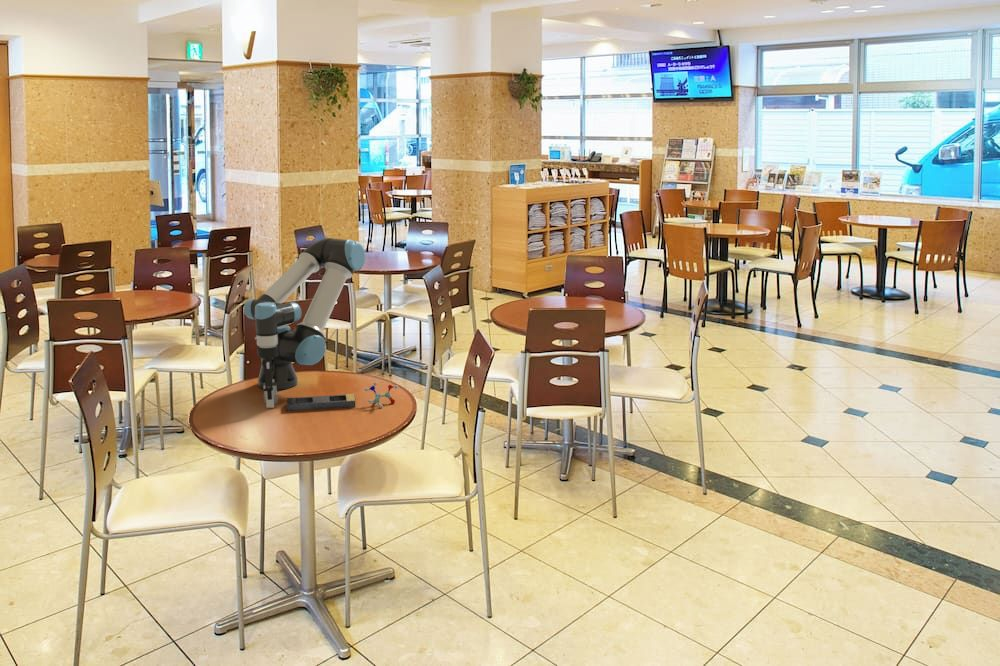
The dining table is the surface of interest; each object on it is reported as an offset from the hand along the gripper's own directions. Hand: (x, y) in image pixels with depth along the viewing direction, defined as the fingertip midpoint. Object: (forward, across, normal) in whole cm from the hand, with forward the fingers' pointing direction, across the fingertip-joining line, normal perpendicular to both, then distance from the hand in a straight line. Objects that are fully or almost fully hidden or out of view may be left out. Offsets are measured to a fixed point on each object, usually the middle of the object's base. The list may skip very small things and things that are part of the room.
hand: (270, 401), depth 323 cm
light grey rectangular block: (0, 0, 0) cm, 0 cm away
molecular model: (0, +10, +39) cm, 40 cm away
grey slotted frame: (0, +8, +18) cm, 20 cm away
